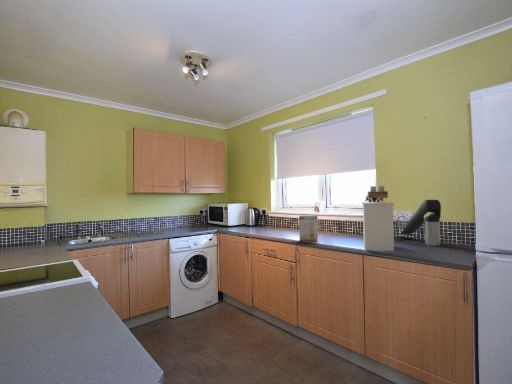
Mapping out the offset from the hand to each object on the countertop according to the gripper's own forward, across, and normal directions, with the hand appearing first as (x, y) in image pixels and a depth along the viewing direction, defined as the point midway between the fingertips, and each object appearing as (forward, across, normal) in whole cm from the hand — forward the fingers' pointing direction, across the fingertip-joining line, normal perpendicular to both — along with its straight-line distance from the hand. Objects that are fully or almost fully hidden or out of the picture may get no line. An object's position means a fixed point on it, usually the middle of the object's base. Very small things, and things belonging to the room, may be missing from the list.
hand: (374, 193), depth 214 cm
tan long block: (+8, 0, -8) cm, 11 cm away
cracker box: (-17, +51, -35) cm, 64 cm away
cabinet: (-4, 0, -42) cm, 42 cm away
